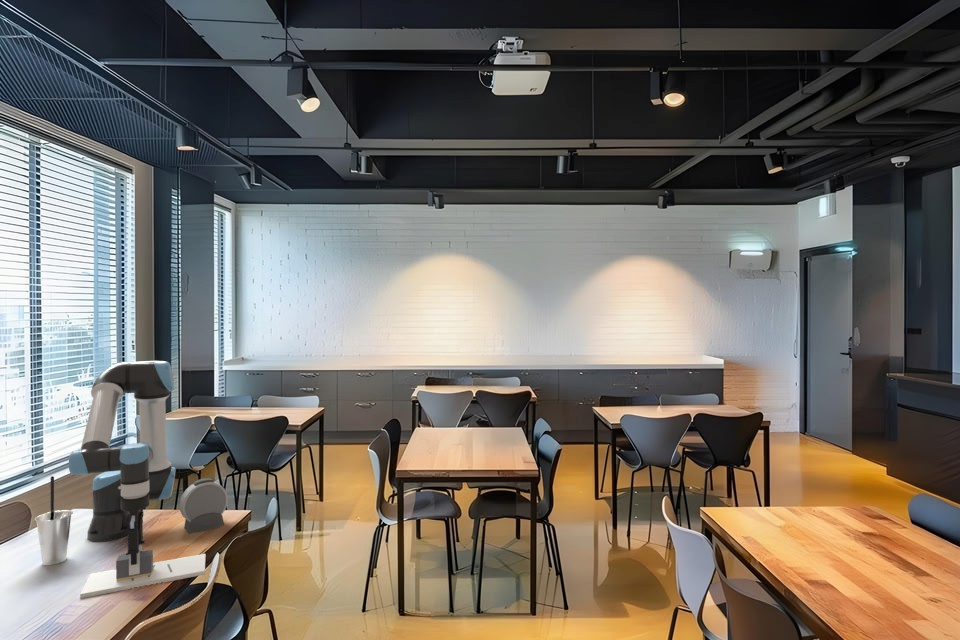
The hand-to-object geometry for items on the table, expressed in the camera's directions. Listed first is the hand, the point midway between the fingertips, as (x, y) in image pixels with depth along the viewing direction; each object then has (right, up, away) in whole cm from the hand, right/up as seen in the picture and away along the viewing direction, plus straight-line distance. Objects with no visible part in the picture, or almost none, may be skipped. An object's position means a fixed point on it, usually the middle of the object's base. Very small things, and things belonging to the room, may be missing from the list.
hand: (135, 570), depth 168 cm
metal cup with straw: (-35, -3, +12) cm, 37 cm away
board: (+3, -3, +1) cm, 4 cm away
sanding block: (0, -1, 0) cm, 1 cm away
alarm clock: (0, -3, +42) cm, 42 cm away
